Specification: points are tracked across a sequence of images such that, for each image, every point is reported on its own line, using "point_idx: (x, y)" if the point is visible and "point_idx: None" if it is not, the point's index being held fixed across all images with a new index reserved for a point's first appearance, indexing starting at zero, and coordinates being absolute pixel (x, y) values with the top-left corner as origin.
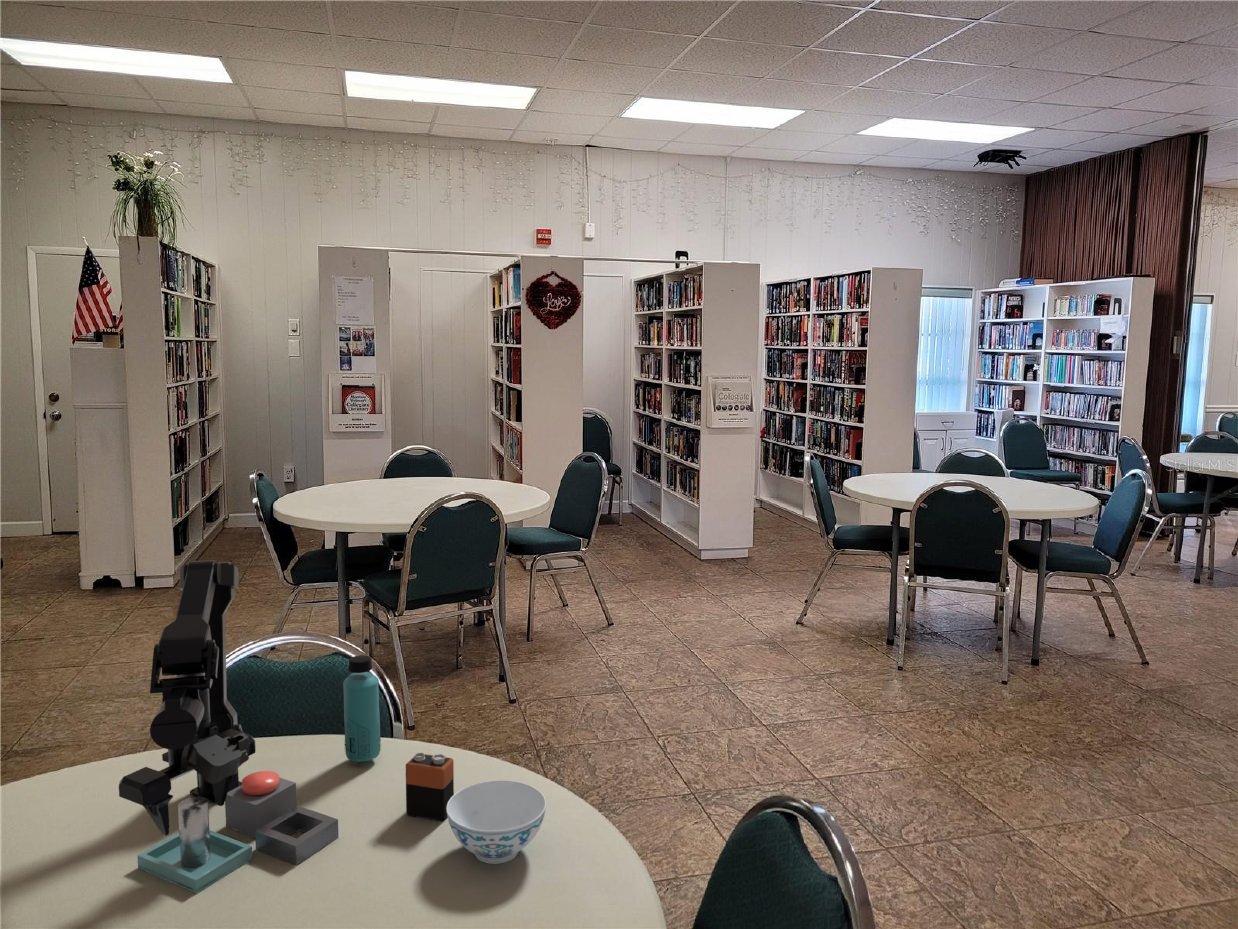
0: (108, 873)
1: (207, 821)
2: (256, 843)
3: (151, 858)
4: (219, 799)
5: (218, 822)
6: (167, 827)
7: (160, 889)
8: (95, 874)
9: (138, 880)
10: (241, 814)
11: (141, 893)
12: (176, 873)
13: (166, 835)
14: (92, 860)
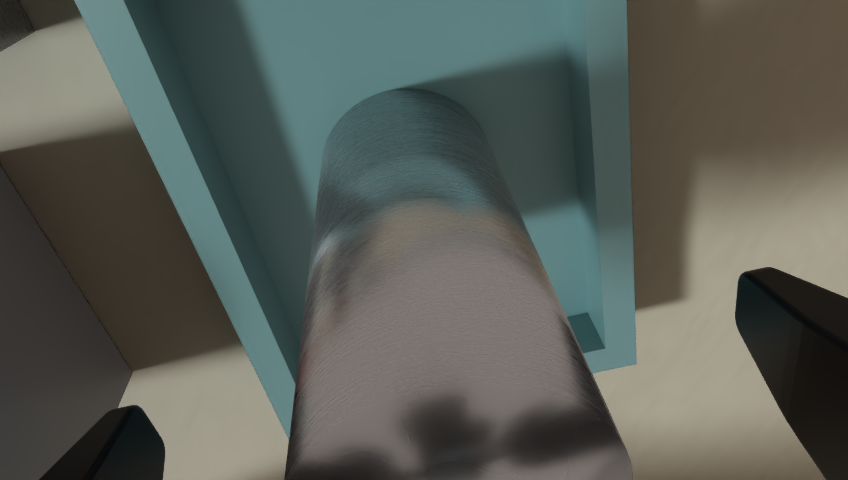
0: (701, 357)
1: (346, 267)
2: (4, 33)
3: (617, 295)
4: (126, 477)
5: (154, 422)
6: (829, 310)
7: (670, 61)
8: (731, 381)
9: (672, 225)
10: (11, 352)
11: (744, 103)
12: (622, 49)
13: (768, 268)
14: (671, 465)
